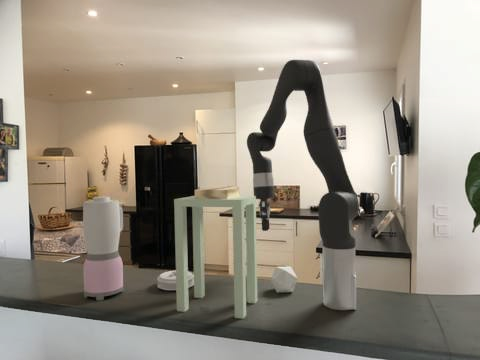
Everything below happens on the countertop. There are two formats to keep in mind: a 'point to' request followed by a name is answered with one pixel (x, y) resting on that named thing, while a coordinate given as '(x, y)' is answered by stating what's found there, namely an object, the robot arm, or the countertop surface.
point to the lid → (172, 280)
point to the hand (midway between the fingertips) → (265, 230)
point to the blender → (102, 247)
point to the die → (284, 279)
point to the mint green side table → (198, 249)
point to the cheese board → (217, 193)
